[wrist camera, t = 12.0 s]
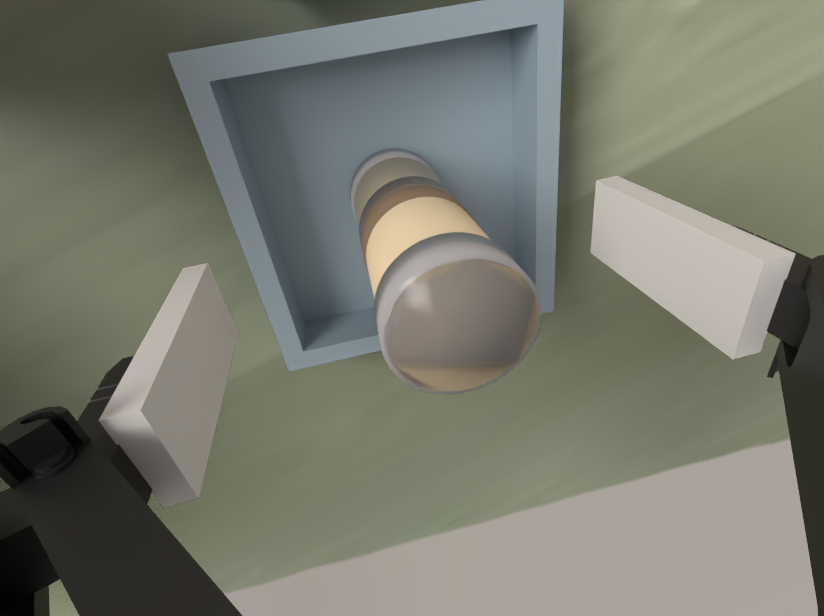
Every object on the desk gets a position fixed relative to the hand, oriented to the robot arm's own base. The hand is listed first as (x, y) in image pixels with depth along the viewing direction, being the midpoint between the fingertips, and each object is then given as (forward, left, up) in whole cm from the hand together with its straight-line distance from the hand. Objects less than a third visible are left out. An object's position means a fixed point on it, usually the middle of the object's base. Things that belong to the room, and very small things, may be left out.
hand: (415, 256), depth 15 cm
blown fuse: (0, 0, -7) cm, 7 cm away
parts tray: (0, 0, -8) cm, 8 cm away
